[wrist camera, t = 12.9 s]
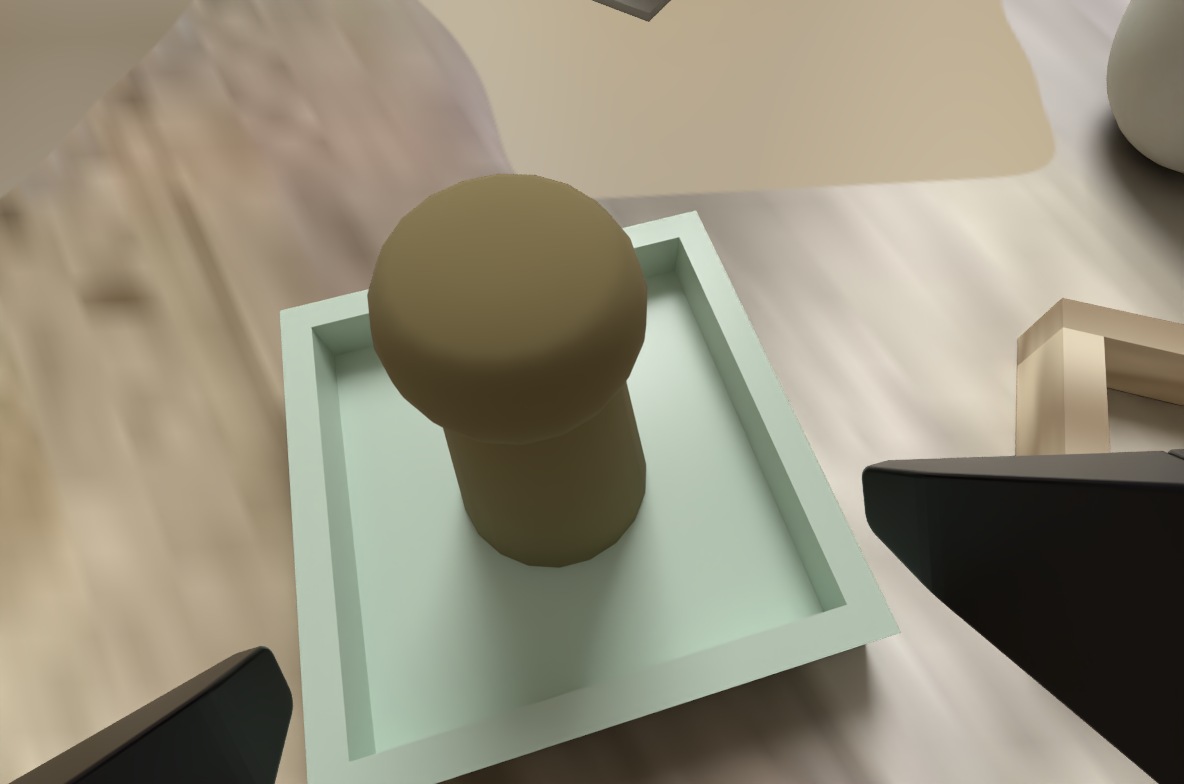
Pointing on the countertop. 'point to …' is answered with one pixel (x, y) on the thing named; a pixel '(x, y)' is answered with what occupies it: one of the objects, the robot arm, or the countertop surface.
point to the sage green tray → (548, 594)
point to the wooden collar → (1090, 374)
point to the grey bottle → (1150, 79)
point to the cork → (521, 357)
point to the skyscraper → (636, 7)
